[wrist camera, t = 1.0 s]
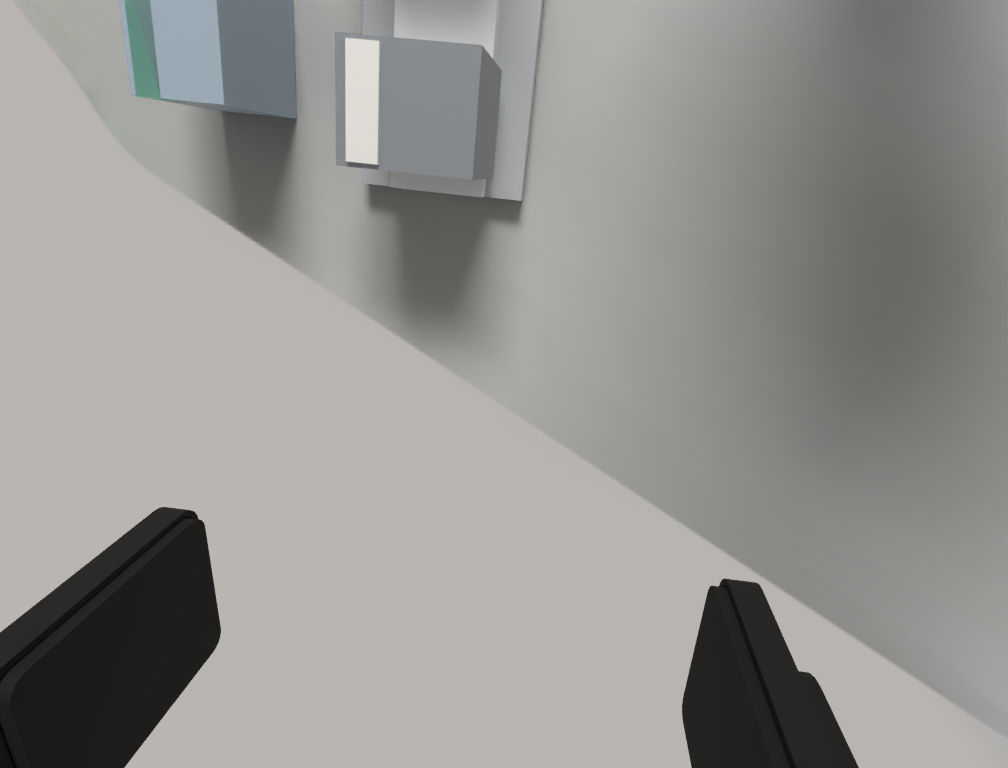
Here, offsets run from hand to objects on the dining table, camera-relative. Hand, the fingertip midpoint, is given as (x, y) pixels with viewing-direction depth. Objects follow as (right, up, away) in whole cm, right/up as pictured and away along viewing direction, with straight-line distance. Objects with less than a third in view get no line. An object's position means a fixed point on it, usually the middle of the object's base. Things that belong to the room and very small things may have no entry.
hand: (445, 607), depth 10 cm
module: (-13, +22, +21) cm, 33 cm away
